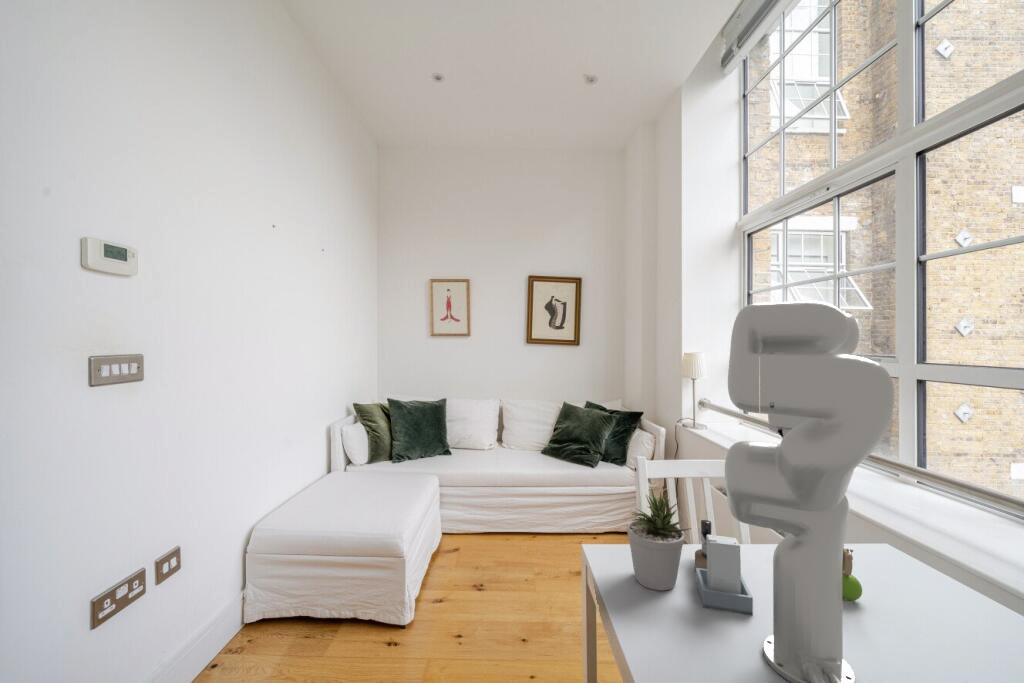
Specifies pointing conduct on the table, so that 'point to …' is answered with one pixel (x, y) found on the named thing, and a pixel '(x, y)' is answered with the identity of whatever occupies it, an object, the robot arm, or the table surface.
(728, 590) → the skincare box
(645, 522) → the potted plant
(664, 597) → the table surface
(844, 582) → the snail figurine
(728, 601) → the tray
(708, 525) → the crank
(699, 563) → the crank pedestal
